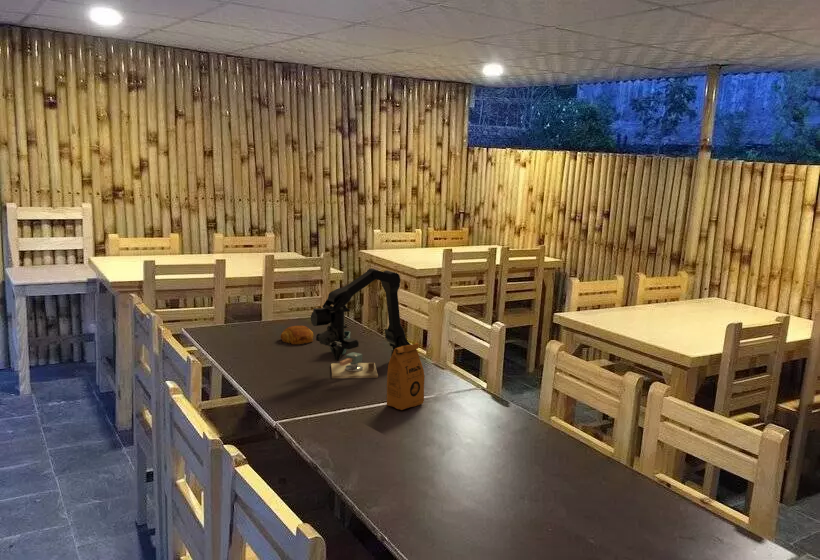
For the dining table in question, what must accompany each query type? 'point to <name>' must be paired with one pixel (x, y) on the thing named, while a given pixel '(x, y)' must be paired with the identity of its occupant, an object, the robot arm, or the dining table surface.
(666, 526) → the dining table surface
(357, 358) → the cap
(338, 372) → the board
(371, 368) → the block
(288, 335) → the croissant
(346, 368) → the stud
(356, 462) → the dining table surface
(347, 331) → the flower pot
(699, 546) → the dining table surface
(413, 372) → the coffee package
